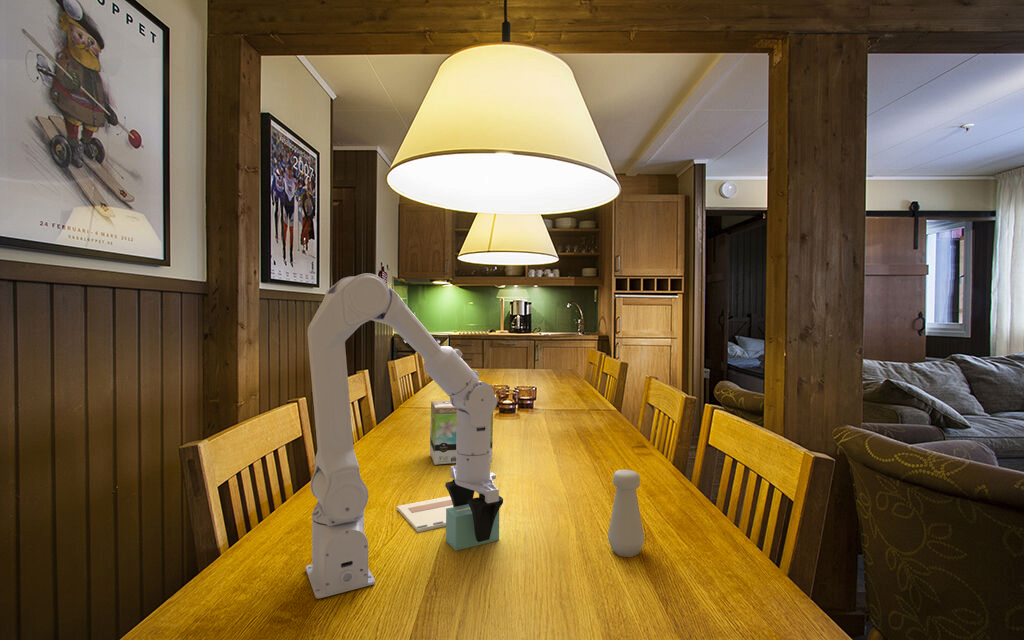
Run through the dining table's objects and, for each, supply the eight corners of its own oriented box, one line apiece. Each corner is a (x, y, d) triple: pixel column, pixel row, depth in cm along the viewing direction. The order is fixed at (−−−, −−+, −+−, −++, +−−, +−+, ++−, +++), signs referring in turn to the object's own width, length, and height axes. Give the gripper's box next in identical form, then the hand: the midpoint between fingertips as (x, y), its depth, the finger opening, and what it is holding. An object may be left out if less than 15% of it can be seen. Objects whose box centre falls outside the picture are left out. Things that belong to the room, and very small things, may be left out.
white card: (489, 516, 97) (489, 512, 97) (417, 532, 90) (417, 528, 90) (462, 496, 107) (462, 492, 107) (396, 509, 100) (396, 505, 100)
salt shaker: (618, 539, 87) (619, 463, 87) (650, 550, 84) (651, 470, 83) (601, 552, 83) (601, 472, 82) (633, 563, 79) (634, 479, 79)
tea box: (434, 466, 127) (434, 407, 127) (429, 455, 137) (429, 400, 137) (493, 462, 131) (493, 404, 131) (484, 451, 141) (485, 398, 141)
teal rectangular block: (499, 539, 87) (499, 507, 87) (455, 550, 83) (455, 516, 83) (488, 531, 90) (488, 499, 90) (446, 541, 86) (446, 508, 86)
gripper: (515, 458, 82) (514, 542, 82) (475, 438, 95) (475, 511, 95) (475, 465, 78) (475, 553, 79) (439, 443, 91) (439, 519, 91)
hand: (472, 531), depth 87 cm, fingers open, 7 cm apart
